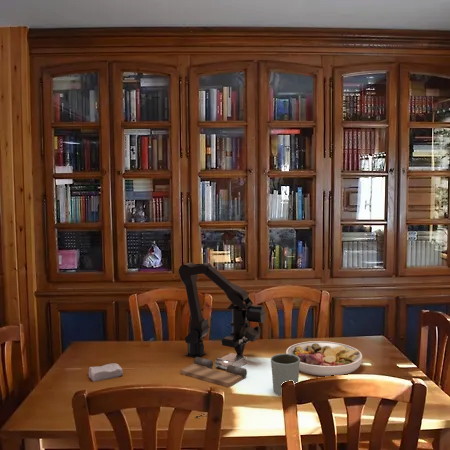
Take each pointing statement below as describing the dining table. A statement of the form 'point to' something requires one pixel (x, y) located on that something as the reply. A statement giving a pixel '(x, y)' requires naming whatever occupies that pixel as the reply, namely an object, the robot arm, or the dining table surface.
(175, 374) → the dining table surface
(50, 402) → the dining table surface
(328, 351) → the bowl
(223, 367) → the pale pink block
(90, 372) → the stone block
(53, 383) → the dining table surface
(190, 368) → the striped wooden board
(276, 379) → the gray green cup
